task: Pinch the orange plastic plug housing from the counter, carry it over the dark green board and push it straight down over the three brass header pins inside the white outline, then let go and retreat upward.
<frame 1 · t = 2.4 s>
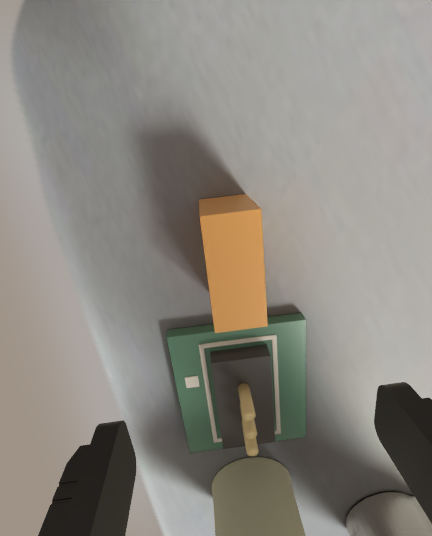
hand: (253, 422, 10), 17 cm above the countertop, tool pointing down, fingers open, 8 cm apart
plug housing: (227, 246, 25), on the countertop
header board: (240, 382, 30), on the countertop
can: (250, 482, 36), on the countertop
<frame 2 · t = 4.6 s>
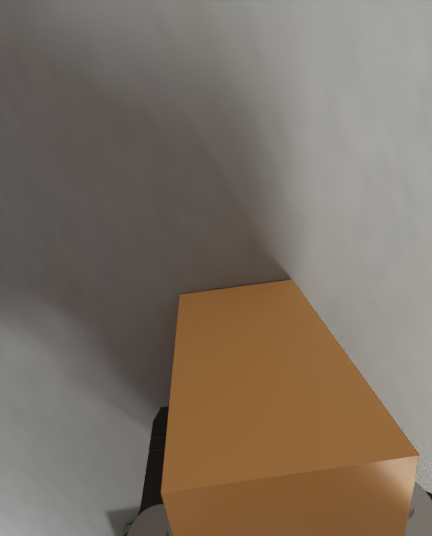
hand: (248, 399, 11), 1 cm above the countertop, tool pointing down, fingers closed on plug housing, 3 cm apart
plug housing: (246, 385, 11), on the countertop, touching gripper
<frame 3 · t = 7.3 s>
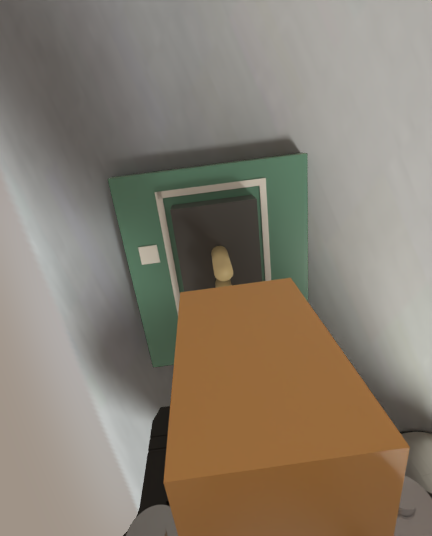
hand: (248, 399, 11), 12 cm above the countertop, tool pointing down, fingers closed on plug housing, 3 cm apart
plug housing: (245, 381, 12), point 12 cm above the countertop, touching gripper
header board: (219, 266, 22), on the countertop
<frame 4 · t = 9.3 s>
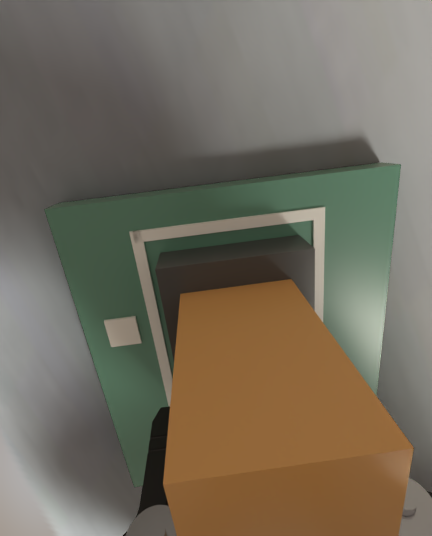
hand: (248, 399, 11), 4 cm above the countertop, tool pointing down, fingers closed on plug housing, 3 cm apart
plug housing: (245, 383, 11), point 3 cm above the countertop, touching gripper, header board
header board: (237, 340, 14), on the countertop
when the fingers open (3 cm above the countertop, at t = 10.3 s): plug housing stays where it is, resting on header board.
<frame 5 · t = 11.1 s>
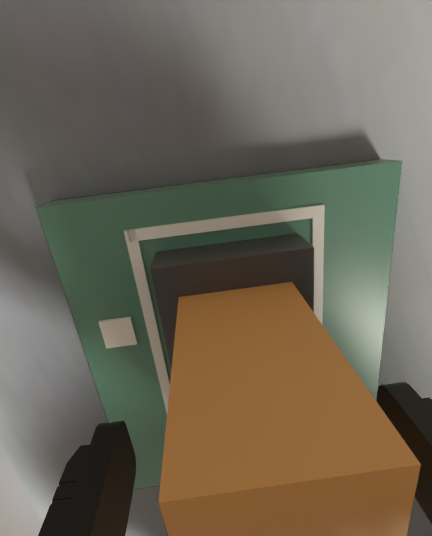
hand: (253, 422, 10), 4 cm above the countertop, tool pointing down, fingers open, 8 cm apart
plug housing: (245, 387, 11), point 3 cm above the countertop, touching header board
header board: (235, 340, 14), on the countertop
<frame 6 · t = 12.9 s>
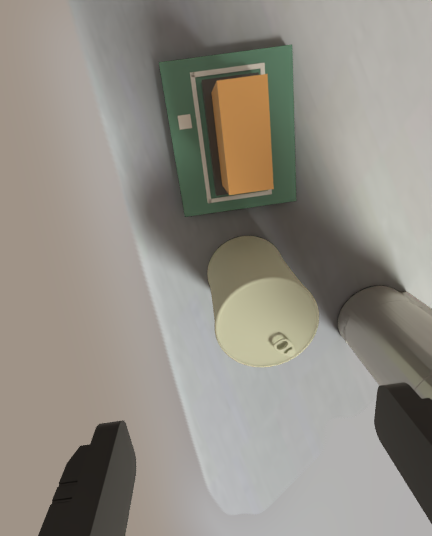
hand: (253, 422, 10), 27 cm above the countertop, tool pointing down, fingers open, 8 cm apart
plug housing: (236, 138, 29), point 3 cm above the countertop, touching header board
header board: (232, 138, 31), on the countertop
can: (245, 271, 37), on the countertop
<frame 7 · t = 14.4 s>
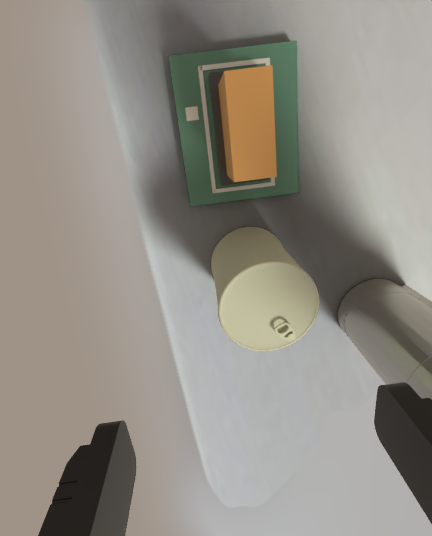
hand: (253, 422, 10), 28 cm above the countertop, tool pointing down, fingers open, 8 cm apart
plug housing: (241, 130, 30), point 3 cm above the countertop, touching header board
header board: (237, 130, 32), on the countertop
can: (248, 262, 38), on the countertop
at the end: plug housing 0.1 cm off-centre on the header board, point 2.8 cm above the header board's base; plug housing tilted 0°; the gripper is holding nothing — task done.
